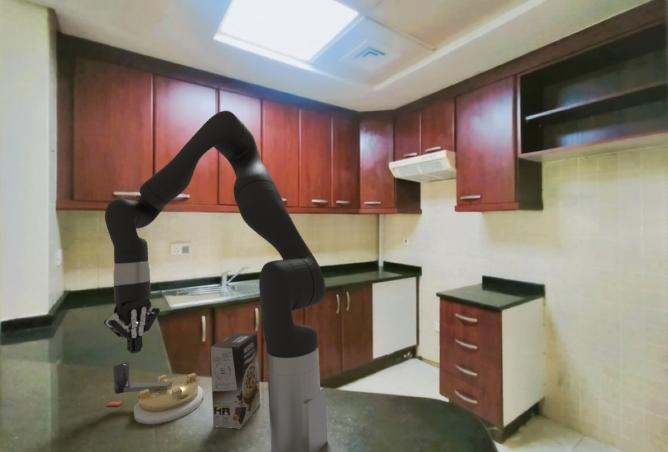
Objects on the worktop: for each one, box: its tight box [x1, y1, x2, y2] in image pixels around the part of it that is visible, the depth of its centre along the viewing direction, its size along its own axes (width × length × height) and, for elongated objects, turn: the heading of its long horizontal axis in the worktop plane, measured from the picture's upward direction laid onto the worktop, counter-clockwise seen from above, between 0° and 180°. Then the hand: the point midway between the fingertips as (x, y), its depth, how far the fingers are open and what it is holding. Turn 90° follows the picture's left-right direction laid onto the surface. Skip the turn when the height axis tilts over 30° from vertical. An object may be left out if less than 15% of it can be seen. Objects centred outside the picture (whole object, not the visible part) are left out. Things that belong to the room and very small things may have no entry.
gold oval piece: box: [112, 360, 199, 412], centre depth 71 cm, size 18×12×8 cm, turn 90°
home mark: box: [106, 401, 124, 407], centre depth 73 cm, size 3×1×1 cm, turn 83°
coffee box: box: [210, 332, 261, 429], centre depth 66 cm, size 9×6×16 cm
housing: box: [133, 385, 204, 425], centre depth 71 cm, size 14×14×2 cm
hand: (135, 352), depth 75 cm, fingers closed
